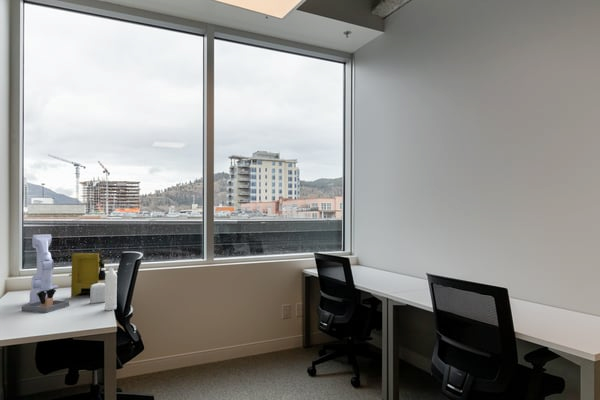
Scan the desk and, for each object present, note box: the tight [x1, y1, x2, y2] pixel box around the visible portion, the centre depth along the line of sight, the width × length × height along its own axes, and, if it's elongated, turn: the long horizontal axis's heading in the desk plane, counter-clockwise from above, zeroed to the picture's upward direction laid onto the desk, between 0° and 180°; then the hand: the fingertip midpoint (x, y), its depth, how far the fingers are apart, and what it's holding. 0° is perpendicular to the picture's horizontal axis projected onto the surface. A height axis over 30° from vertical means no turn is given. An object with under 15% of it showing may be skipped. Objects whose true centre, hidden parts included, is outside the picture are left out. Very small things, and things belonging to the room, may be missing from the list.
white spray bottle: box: [101, 267, 118, 311], centre depth 226 cm, size 9×6×25 cm
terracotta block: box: [40, 298, 54, 307], centre depth 227 cm, size 5×4×5 cm
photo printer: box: [89, 282, 105, 304], centre depth 243 cm, size 10×4×12 cm, turn 123°
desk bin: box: [21, 299, 70, 314], centre depth 227 cm, size 18×16×3 cm
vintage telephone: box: [68, 253, 110, 298], centre depth 265 cm, size 31×14×30 cm, turn 92°
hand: (46, 302), depth 227 cm, fingers closed on terracotta block, 4 cm apart
